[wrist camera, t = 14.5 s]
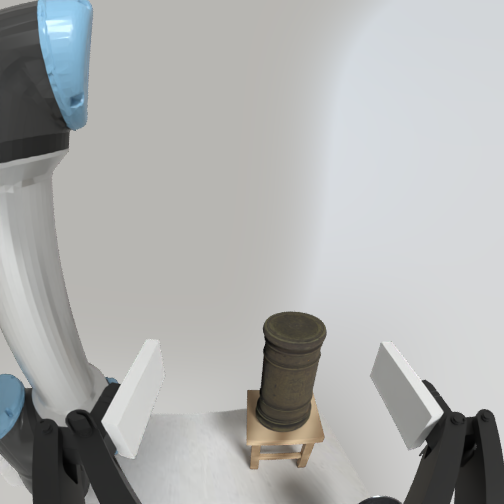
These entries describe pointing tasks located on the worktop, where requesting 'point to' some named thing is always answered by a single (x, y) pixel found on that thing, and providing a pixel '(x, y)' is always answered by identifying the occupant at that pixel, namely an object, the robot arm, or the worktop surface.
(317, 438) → the stool
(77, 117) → the robot arm
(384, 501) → the wine glass
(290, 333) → the container
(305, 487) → the worktop surface
